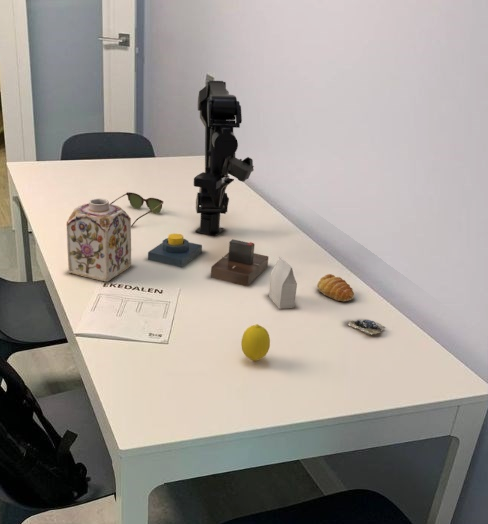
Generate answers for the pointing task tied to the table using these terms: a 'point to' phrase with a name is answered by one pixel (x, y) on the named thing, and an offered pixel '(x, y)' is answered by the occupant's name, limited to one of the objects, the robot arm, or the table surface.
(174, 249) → the blue button base
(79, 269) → the decorative jar
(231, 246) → the dark grey block
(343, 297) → the pastry
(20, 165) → the table surface
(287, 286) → the grey wedge block
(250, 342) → the lemon
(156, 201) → the sunglasses
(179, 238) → the button
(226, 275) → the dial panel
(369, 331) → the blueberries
